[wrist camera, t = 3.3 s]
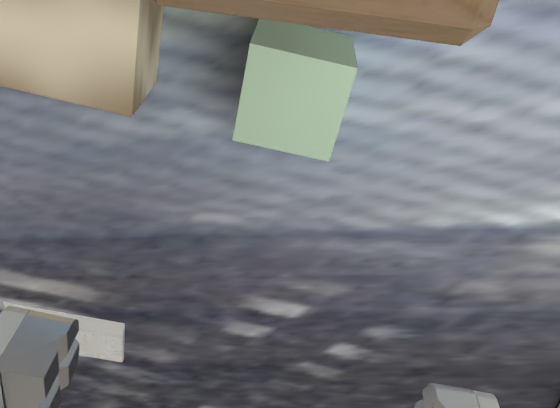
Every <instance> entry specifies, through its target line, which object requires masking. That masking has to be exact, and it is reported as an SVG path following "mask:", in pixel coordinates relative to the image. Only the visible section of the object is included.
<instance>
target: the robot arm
mask: <svg viewBox="0 0 560 408" xmlns="http://www.w3.org/2000/svg"><path fill="white" fill-rule="evenodd" d="M78 331H79V321H78V320H77V319H72V318H67V317H62V316H58V315H53V314H48V313H43V312H38V311H34V310H28V309H23V308H18V307H13V306H7V307H6V308H5V309H4V310H3V311H1V313H0V408H58V407H59V405H60V403H61V395H60V390H62V389H63V388H64V387H66V386H67V385H69V383H70V381H71V379H72V376H73V374H74V371H75V368H76V365H77V361H78V356H79V342H78V341H77V340H76V339H75V337H76V335H77V333H78ZM422 393H423V398H424V399H422V400H420V401H418V402H416V403H415V404H414V406H413V408H500V407H499V405H498V402H497V399H496V397H495V396H494V395H493V394H490V393H485V392H479V391H473V390H470V389H465V388H459V387H453V386H447V385H441V384H435V383H429V384H428V385H426V387H425V388H424V390H423V391H422ZM558 408H560V404H559V406H558Z"/></svg>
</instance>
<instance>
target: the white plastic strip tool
mask: <svg viewBox="0 0 560 408" xmlns="http://www.w3.org/2000/svg"><path fill="white" fill-rule="evenodd" d="M3 304H4V306H5V308H6V307H7V306H13V307H18V308H23V309H28V310H34V311H38V312H43V313H48V314H53V315H58V316H62V317H67V318H72V319H77V320H78V321H79V331H78V333H77V335H76V337H75V339H76V340H77V341H78V342H79V356H80V355H82V356H83V357H86V356H88V357H93V358H99V359H105V360H111V361H117V362H123V360H124V335H125V323H119V322H114V321H108V320H102V319H97V318H91V317H86V316H80V315H75V314H72V315H71V314H68V313H63V312H58V311H52V310H47V309H41V308H35V307H30V306H24V305H19V304H13V303H8V302H3Z"/></svg>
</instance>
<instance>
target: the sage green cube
mask: <svg viewBox="0 0 560 408" xmlns="http://www.w3.org/2000/svg"><path fill="white" fill-rule="evenodd" d="M357 70H358V66H357V61H356V55H355V49H354V43H353V38H352V36H348V35H344V34H340V33H336V32H331V31H327V30H323V29H319V28H315V27H310V26H306V25H302V24H294V23H287V22H279V21H272V20H265V19H259V20H258V23H257V25H256V28H255V31H254V33H253V36H252V39H251V42H250V45H249V51H248V57H247V62H246V68H245V73H244V79H243V84H242V90H241V95H240V101H239V106H238V112H237V118H236V123H235V129H234V134H233V141H237V142H242V143H247V144H251V145H256V146H260V147H265V148H269V149H274V150H278V151H283V152H287V153H292V154H296V155H301V156H306V157H310V158H315V159H319V160H324V161H328V162H329V160H330V157H331V153H332V150H333V147H334V144H335V141H336V137H337V134H338V131H339V128H340V124H341V121H342V118H343V115H344V112H345V108H346V105H347V102H348V99H349V95H350V92H351V89H352V86H353V82H354V79H355V76H356V73H357Z"/></svg>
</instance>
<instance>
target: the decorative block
mask: <svg viewBox="0 0 560 408" xmlns="http://www.w3.org/2000/svg"><path fill="white" fill-rule="evenodd" d="M154 1H155V3H156V4H157V5H160V6H168V7H175V8H183V9H190V10H198V11H205V12H213V13H220V14H227V15H235V16H242V17H250V18H257V19H265V20H272V21H279V22H287V23H294V24H302V25H309V26H317V27H324V28H332V29H339V30H346V31H354V32H361V33H369V34H376V35H384V36H391V37H399V38H406V39H413V40H421V41H428V42H436V43H443V44H451V45H458V46H460V45H462V44H463V43H465V42H466V41H468V40H469V39H471V38H472V37H474V36H476V35H477V34H479V33H480V32H482V31H483V30H485V29H486V28H488V27H489V26H491V23H492V20H493V17H494V14H495V11H496V8H497V5H498V2H499V0H154Z"/></svg>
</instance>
